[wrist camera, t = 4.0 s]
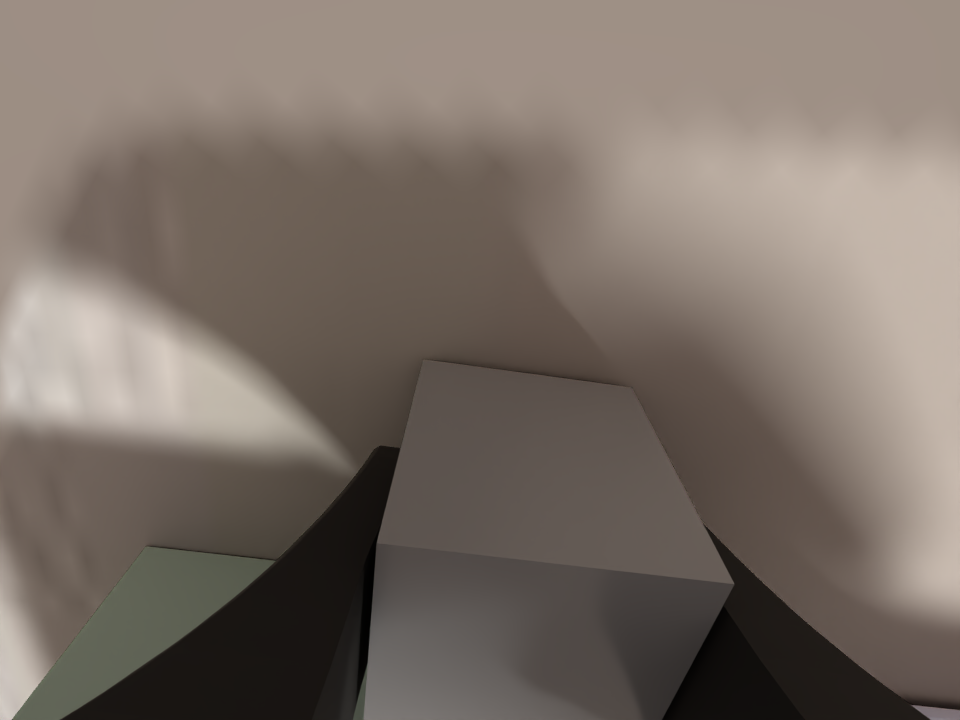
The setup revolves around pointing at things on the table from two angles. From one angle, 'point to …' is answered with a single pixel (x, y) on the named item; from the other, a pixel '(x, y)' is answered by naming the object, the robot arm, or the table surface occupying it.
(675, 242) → the table surface
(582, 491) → the gray block
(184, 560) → the trapdoor frame
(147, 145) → the table surface
